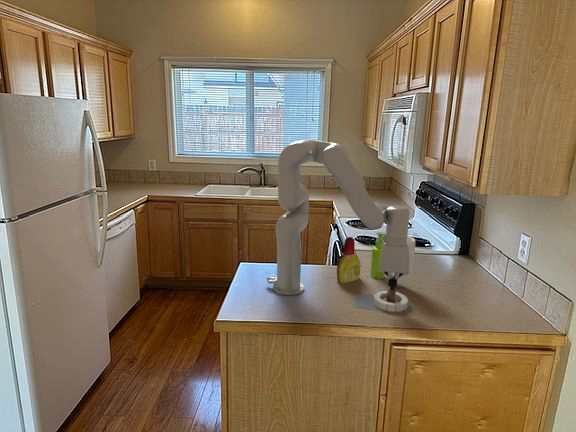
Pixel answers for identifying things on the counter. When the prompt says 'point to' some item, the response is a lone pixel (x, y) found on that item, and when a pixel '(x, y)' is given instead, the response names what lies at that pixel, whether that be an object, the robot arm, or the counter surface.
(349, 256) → the bottle
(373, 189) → the counter surface
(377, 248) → the soap dispenser
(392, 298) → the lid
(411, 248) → the cup
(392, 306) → the ring
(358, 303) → the board
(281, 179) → the robot arm
